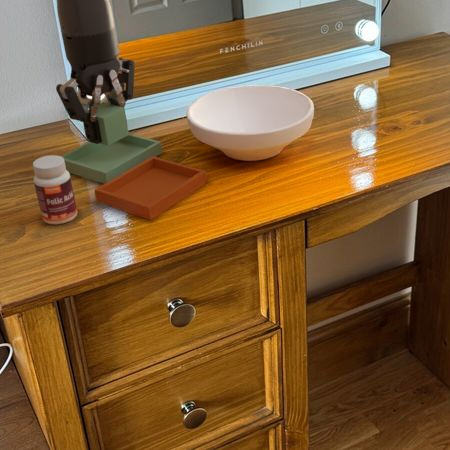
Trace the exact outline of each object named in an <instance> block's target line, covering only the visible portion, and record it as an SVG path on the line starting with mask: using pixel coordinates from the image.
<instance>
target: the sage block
mask: <svg viewBox="0 0 450 450" xmlns="http://www.w3.org/2000/svg"><path fill="white" fill-rule="evenodd" d="M88 112H89V108H88ZM96 120H98V122H99V128H100V133H101V139H102V142H101V143H100V144H103V145H107V146H109V145H111V144H113V143H115V142H117V141H118V140H120V139H122V138H124V137H126V136H128V135H129V133H130V131H129V126H128V119H127V113H126V107H120V106H116V105H112V104H109V102H100V105H99V106H98V108H97V119H96Z"/></svg>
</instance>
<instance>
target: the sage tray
mask: <svg viewBox="0 0 450 450" xmlns="http://www.w3.org/2000/svg"><path fill="white" fill-rule="evenodd" d="M163 152H164V151H163V145H162V141H160V140H156V139H152V138H149V137H145V136H141V135H138V134H133V133H131V132H129V135H128V136H126V137H124V138H122V139H120V140H118V141H117V142H115V143H113V144H111V145H109V146H107V145H103V144H100V143H99V144H95V143H92V142H90V141H88V142H86V143H84V144H82V145H80V146H78V147H76V148H74V149H72V150H70V151H68V152H66V153H64V154H62V155H60V156H61V157H63V158H64V161H65V166H66V170H67V171H68V172H69V174H72V175H75V176H77V177H81V178H85V179H87V180H91V181H94V182H97V183H100V184H102V185H104V184H105V183H107V182H109V181H111V180H112V179H114V178H116V177H117V176H119V175H121V174H123V173H124V172H126V171H128V170H130V169H131V168H133V167H135V166H137V165H138V164H140V163H142V162H144V161H145V160H147V159H149V158H151V157H152V156H154V157H159V156H161V155H162V154H163Z"/></svg>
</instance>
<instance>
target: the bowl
mask: <svg viewBox="0 0 450 450" xmlns="http://www.w3.org/2000/svg"><path fill="white" fill-rule="evenodd" d="M314 105H315V104H314V102H313V100H312V99H311V98H310V97H309V96H308V95H306V94H304V93H302V92H301V91H298V90H296V89H292V88H289V87H286V86H285V87H284V86H280V85H270V84H247V85H246V84H245V85H236V86H231V87H225V88H220V89H217V90H214V91H211V92H207V93H205V94H203V95H201V96H199V97H198V98H196V99H195V100H194V101H192V103H191V104H189V106H188V107H187V109H186V113H185V116H186V120H187V124H188V128H189V130H190V132H191V134H192V135H193V137H195V139H196V140H198V141H200V142H201V143H204V144H206V145H208V146H211V147H213V148H214V149H217V150H218V151H220V152H222V153H223V154H224V155H225V156H227V157H229V158H231V159H234V160H238V161H245V162H246V161H249V162H250V161H253V162H254V161H261V160H267V159H269V158H272V157H275V156H277V155H278V154H280V153H281V152H282V151H283V150H284V148H286V147H287V146H289V144H291V143H293V142H294V141H295V140H297V139H299V138H302V136H304V135H305V134H306V133H308V131H309V130H310V128H311V126H312V123H313V119H314V115H315V106H314Z"/></svg>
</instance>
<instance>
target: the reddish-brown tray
mask: <svg viewBox="0 0 450 450" xmlns="http://www.w3.org/2000/svg"><path fill="white" fill-rule="evenodd" d="M206 184H208V178H207V171H206V170H204V169H201V168H196V167H194V166H190V165H185V164H182V163H179V162H176V161H172V160H169V159H166V158H165V159H164V158H163V157H159V156H157V157H154V156H152V157H151V158H149V159H147V160H145V161H144V162H142V163H140V164H138V165H137V166H135V167H133V168H131V169H130V170H128V171H126V172H124V173H123V174H121V175H119V176H117V177H116V178H114V179H112V180H111V181H109V182H107V183H105V184H102V185H100V186H98V187H96V188H95V189H94V195H95V201H96V203H99V204H102V205H104V206H108V207H109V208H114V209H116V210H120V211H122V212H124V213H128V214H131V215H134V216H137V217H140V218H143V219H146V220H149V221H152V220H154V219H155V218H156V217H158V216H160V215H161V214H162V213H164V212H166V211H167V210H169V209H170V208H172V207H173V206H175V205H177V203H179V202H181V201H183V200H184V199H185V198H187V197H189V196H190V195H191V194H193V193H195V192H196V191H198V190H199V189H200V188H202V187H203V186H205V185H206Z"/></svg>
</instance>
